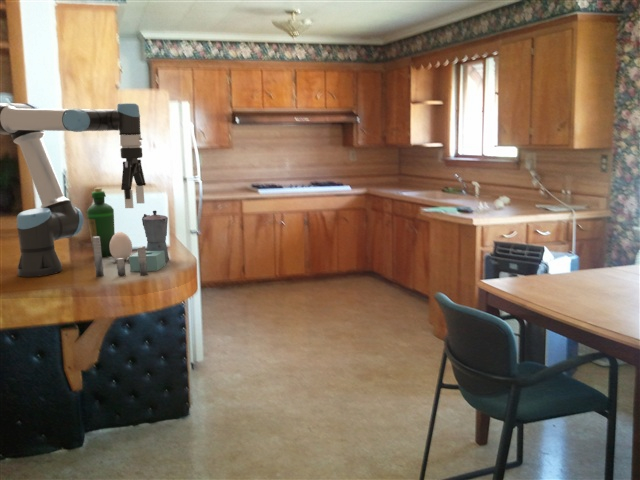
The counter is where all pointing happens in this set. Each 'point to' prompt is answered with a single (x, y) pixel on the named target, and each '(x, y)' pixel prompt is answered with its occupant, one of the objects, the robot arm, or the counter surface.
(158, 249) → the moka pot
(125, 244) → the egg
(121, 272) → the pin short
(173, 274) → the counter surface
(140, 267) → the pin medium
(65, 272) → the counter surface
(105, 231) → the bottle
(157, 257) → the teal square nut
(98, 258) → the pin long
